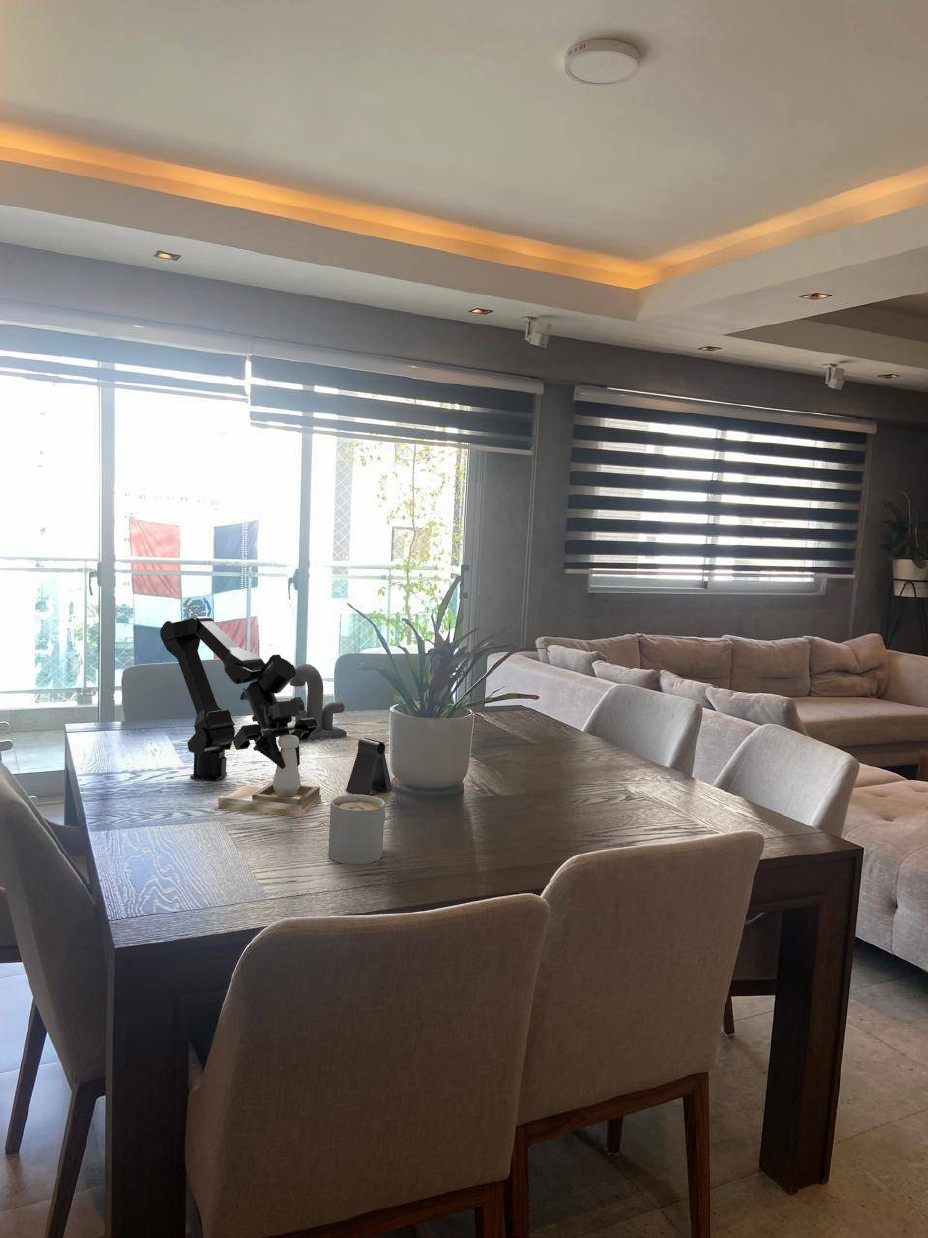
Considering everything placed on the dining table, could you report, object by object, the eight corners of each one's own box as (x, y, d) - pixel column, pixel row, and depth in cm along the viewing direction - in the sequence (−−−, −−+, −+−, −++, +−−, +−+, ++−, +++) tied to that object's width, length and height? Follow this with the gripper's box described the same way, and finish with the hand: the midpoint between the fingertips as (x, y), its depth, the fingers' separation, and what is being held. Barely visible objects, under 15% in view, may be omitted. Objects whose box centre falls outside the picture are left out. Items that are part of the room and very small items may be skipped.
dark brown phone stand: (363, 798, 209) (366, 745, 208) (345, 791, 213) (348, 740, 212) (392, 791, 216) (395, 740, 215) (374, 785, 220) (377, 735, 219)
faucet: (317, 725, 280) (320, 659, 278) (348, 735, 269) (351, 667, 267) (264, 731, 268) (267, 662, 266) (294, 742, 256) (297, 670, 254)
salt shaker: (269, 792, 202) (272, 733, 200) (295, 790, 204) (298, 732, 203) (276, 800, 196) (279, 739, 195) (302, 798, 199) (305, 738, 197)
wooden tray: (218, 807, 196) (218, 792, 196) (243, 790, 209) (244, 776, 208) (299, 817, 193) (300, 802, 192) (320, 799, 206) (321, 785, 205)
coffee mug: (353, 868, 166) (356, 814, 165) (317, 853, 173) (319, 800, 172) (406, 851, 176) (409, 800, 175) (369, 838, 183) (372, 788, 182)
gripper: (242, 688, 194) (269, 752, 187) (316, 681, 207) (344, 741, 200) (221, 717, 200) (246, 780, 194) (294, 709, 213) (320, 768, 207)
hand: (290, 766), depth 198 cm, fingers closed on salt shaker, 3 cm apart
